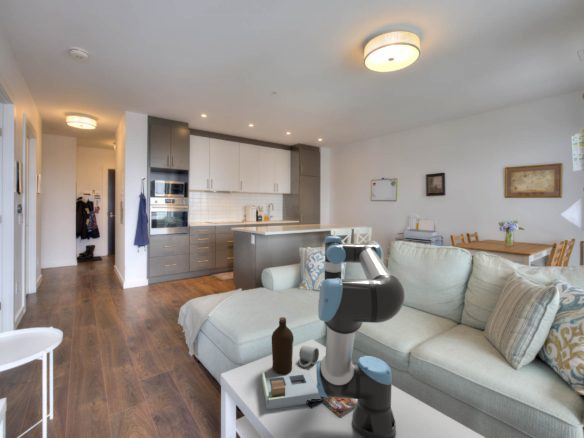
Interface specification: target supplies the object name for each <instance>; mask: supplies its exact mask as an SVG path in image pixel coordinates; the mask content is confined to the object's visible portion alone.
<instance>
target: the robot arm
mask: <svg viewBox="0 0 584 438" xmlns="http://www.w3.org/2000/svg"><path fill="white" fill-rule="evenodd" d="M324 239H325V240H324V280H323V281H322V283H321V284H320V285H318V288H319V295H318V297H319V298H318V307H317V308H318V309H317V311H318V314H317V315H318V318H319V320H320V321H323V322H324V324H325V326H326V328H327V329H326V342H325V356H324V357H322V359H320V360H318V361H317V363H316V369H315V370H316V372H315V373H316V386H317V388H318V392H319V395H320V396H321V398H328V399H351V400H352V399H353V400H357V401H356V403H355V406H354V409H353V411H352V415H351V416H352V420H351V422H352V425H353V428H354V429H355V430H356V432H357V433H358V434H359V435H360V436H361V437H363V438H393V437H394V436H395V434H396V430H397V428H396V426H397V425H396V419H395V415H394V413H393V409H392V386H393V385H392V384H393V378H392V377H393V376H392V369H391V367H390V366H389V364H388V363H387V362H386V361H384V360H383V359H381V358H378V357H375V356H371V355H362V356H360V357H359V358H358V360H357V362H356V361H352V356H353V351H354V343H355V335H356V332H358V331H359V330H360V328H361V327H362V325H363V323H372V324H379V323H385V322H387V321H389V320H391V319H393V318H394V317H395V316H397V315H398V313H400V311H401V309H402V308H403V305H404V302H405V289H404V287H403V284H402V283H401V282H400V280H399V279H398V278H397V277H396V276H395V275H393V274H391V272H390V271H389V270H388V268H387V267H386V266H385V263H383V261H382V249H381V246H380V245H378V244H371V243H369V244H357V243H356V244H354V243H353V244H347V243H346V244H345V243H343V238H342V237H340V236H339V235H338V236H336V235H331V236H329V235H328V236H325V238H324ZM342 263H350V264H351V263H352V264H353V263H356V264H357V263H358V264H360V267H361V268H362V271H363V272H364V273H363V274H364V275H365V278H366V279H361V278H360V279H354V278H342Z"/></svg>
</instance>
